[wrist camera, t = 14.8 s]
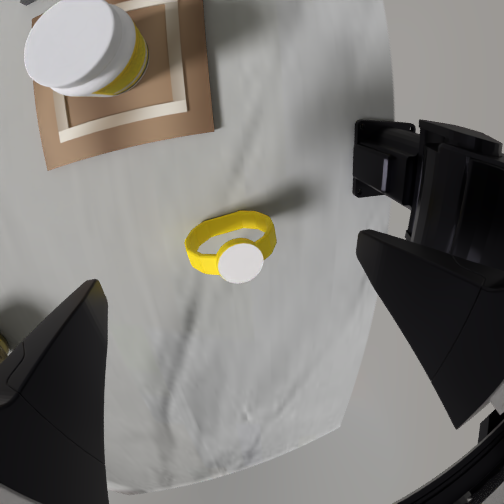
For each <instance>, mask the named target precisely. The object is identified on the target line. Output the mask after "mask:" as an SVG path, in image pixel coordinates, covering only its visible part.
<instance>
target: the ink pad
mask: <svg viewBox="0 0 504 504" xmlns="http://www.w3.org/2000/svg"><path fill="white" fill-rule="evenodd" d="M34 1H36V0H21V1H20V3H22V4H24V5H28V4H30V3H32V2H34Z"/></svg>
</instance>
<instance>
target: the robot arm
mask: <svg viewBox="0 0 504 504" xmlns="http://www.w3.org/2000/svg"><path fill="white" fill-rule="evenodd" d="M361 124H362V128H360V125H361ZM410 127H411V130H410ZM419 127H420V134H417V133H415V130H416V129H415V126H414V125H413V124H411V123H403V122H391V121H375V120H358V121H356V123H355V145H354V152H353V194H354V195H355V196H356V197H358V198H361V197H369V196H378V195H386V196H388V197H390V198H392V199H393V200H395V201H397V202H398V203H400V204H401V205H403V206H405V207H407V208H408V209H410V210H411V215H410V221H409V226H408V230H406V234H405V238H406V240H404V239H401V238H398V237H394V236H391V235H388V234H384V233H381V232H377V231H374V230H370V229H368V230H362V231H360V232H359V234H358V240H357V248H356V255H357V258H358V260H359V262H360V264H361V265H362V267H363V269H364V271H365V273H366V275H367V276H368V278H369V280H370V282H371V284H372V286H373V287H374V289H375V291H376V292H377V294H378V295H379V297H380V298H381V300H382V301H383V303H384V304H385V306H386V308H387V309H388V311H389V312H390V314H391V315H392V317H393V318H394V320H395V322H396V323H397V325H398V326H399V328H400V329H401V331H402V333H403V334H404V336H405V338H406V339H407V341H408V342H409V344H410V346H411V348H412V349H413V351H414V352H415V354H416V356H417V358H418V360H419V361H420V363H421V365H422V366H423V368H424V370H425V372H426V374H427V375H428V377H429V379H430V381H431V383H432V385H433V386H434V388H435V390H436V392H437V394H438V396H439V398H440V400H441V401H442V403H443V405H444V407H445V409H446V411H447V413H448V415H449V417H450V419H451V421H452V423H453V425H454V427H455V428H456V429H458V428H460V427H461V426H462V425H463V424H464V423H466V422H467V421H469V420H470V419H471V418H472V417H473V416H475V415H476V414H477V413H478V412H479V411H481V410H482V409H483V408H484V407H485V406H486V405H487V404H488V403H490V402H491V403H492V405H493V406H494V407H495V410H494V411H493V412H492V413H491V414H490V415H489V416H488V417H487V418H486V419H485V420H484V421H482V422H481V423H480V431H479V438H478V444H477V445H476V446H475V447H474V448H473V449H472V450H470V451H469V452H468V453H467V454H466V455H464V456H463V457H462V458H461V459H459V460H458V461H457V462H456V463H454V464H453V465H452V466H451V467H449V468H448V469H446V470H445V471H443V472H442V473H441V474H439V475H438V476H436V477H435V478H434V479H432V480H431V481H429V482H428V483H426V484H425V485H423V486H421V487H420V488H418V489H417V490H415V491H414V492H412V493H410V494H408V495H407V496H405V497H403V498H402V499H400V500H398V501H396V502H395V503H393V504H504V154H503V153H502V143H501V142H499V141H497V140H495V139H493V138H491V137H489V136H487V135H485V134H483V133H481V132H477V131H474V130H470V129H467V128H464V127H460V126H456V125H450V124H445V123H439V122H432V121H427V120H419ZM359 189H360V192H359V193H357V192H358V190H359ZM107 345H108V302H107V299H106V296H105V294H104V292H103V289H102V287H101V284H100V282H99V281H98V280H97V279H92V280H87V281H85V282H84V283H83V284H82V285H81V286H80V287H79V288H77V289H76V290H75V291H74V292H73V293H72V294H71V295H70V296H69V297H67V298H66V299H65V300H64V301H63V302H62V303H61V304H60V305H59V306H58V307H57V308H56V309H55V310H54V311H52V312H51V313H50V314H49V315H48V316H47V317H46V318H45V319H44V320H43V321H42V322H41V323H40V324H39V325H38V326H37V327H36V328H35V329H34V330H33V331H32V332H31V333H30V334H29V335H28V336H27V337H26V338H25V339H24V340H23V342H21V343H20V344H19V345H18V346H17V347H16V348H15V349H14V350H13V352H12V353H11V354H10V355H9V356H8V357H7V358H6V359H5V360H4V361H3V362H2V363H1V364H0V504H109V500H108V491H107V481H106V469H105V465H104V464H105V455H104V388H105V370H106V357H107Z"/></svg>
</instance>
